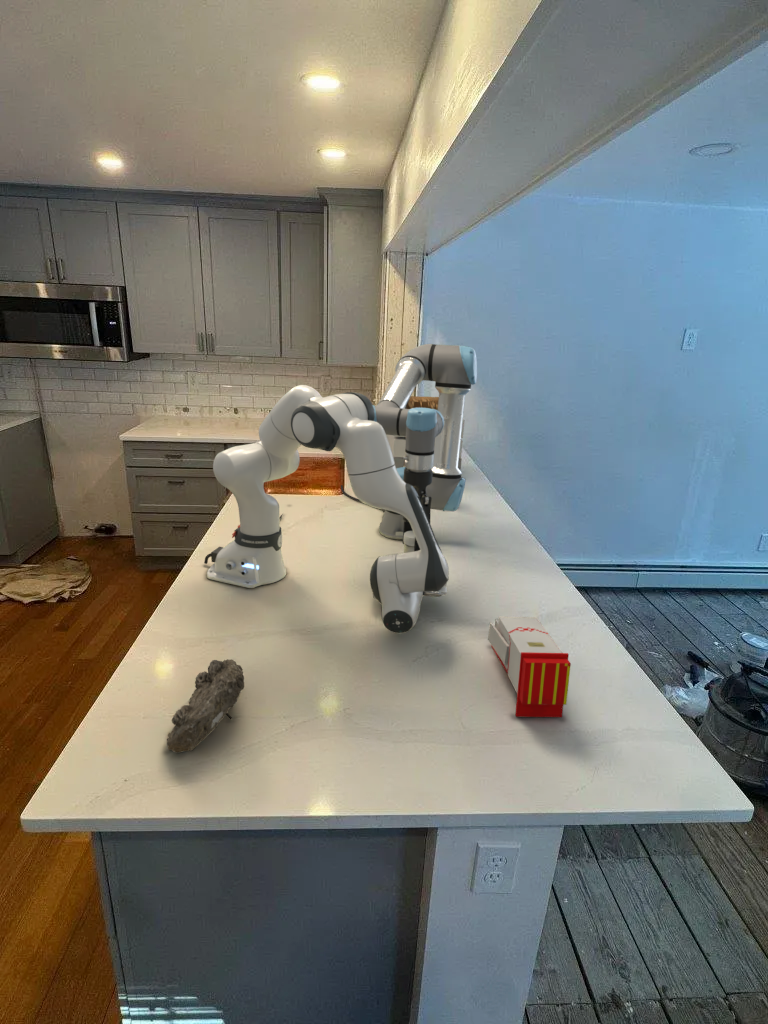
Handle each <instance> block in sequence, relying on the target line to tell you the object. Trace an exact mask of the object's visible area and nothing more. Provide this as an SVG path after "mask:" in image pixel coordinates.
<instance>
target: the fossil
mask: <svg viewBox="0 0 768 1024" xmlns="http://www.w3.org/2000/svg"><path fill="white" fill-rule="evenodd" d="M243 670H244V669H243V667H242V665H240V664H237V662H236V661H235V660H234V659H232V658H231V659H227V658H226V659H224V660H223V661H222V660H217V659H212V660H211V661H210V663H209V665H208V666H207V671H201V672H199V673H198V674H197V675H196V676H195V680H194V684H195V685H194V687H195V689H194V690H193V693H192V694H191V697H190V698H189V700H188V704H184V705H182V706H181V707H180V709H177V710H176V711H175V713H174V715H173V716H172V718H171V723H172V724H173V727H172V730H171V731H170V732H168V734H167V738H166V741H167V742H166V745H167V749H168V750H169V751H173V752H174V753H176V754H178V753H182V752H188V751H189V752H192V751H193V750H195V748H196V747H197V746H199V744H200V743H201V742H203V741H204V740H205V739H206V738H207V737H208V736H209V735H210V734H211V733H212V732H214V730H215V729H217V727H218V726H219V724H220V722H221V721H222V720H223V719H224V718H225V716H226V717H227V719H229V720H233V717H232V715H230V714H229V710H230V709H231V708H234V706H235V704H236V703H237V702H238V699H239V697H240V695H241V693H242V691H243V690H245V689H244V688H245V675H244V671H243Z"/></svg>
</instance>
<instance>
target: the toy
mask: <svg viewBox="0 0 768 1024" xmlns="http://www.w3.org/2000/svg"><path fill="white" fill-rule="evenodd" d="M488 625H489V627H488V633H487V641H488V642H489V644H490V646H491V647H490V648H491V649H492V650H493V652H494V654H495V656H496V658H497V659H498V660H499V662H500V664H501V666H502V668H503V669H504V671H505V673H506V674H507V676H508V678H509V680H510V682H511V685H512V686H513V689H514V690H515V693H516V704H515V717H516V718H517V717H518V718H519V717H520V718H521V717H522V718H563V710H564V705H567V701H568V692H569V685H570V684H569V683H570V676H571V675H570V674H571V666H572V664H571V661H570V660H569V655H570V654H569V653H568V652H563V651H562V649H561V648H560V647H559V646H558V644H557V643H556V642H555V640H554V639H553V638H552V636H551V635H550V634H549V632H548V631H547V629H546V628H545V627H544V626H543V624H542V622H541V621H540V620H539V619H538V618H537V616H498V618H496V619H494V623H493V622H489V624H488Z"/></svg>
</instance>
